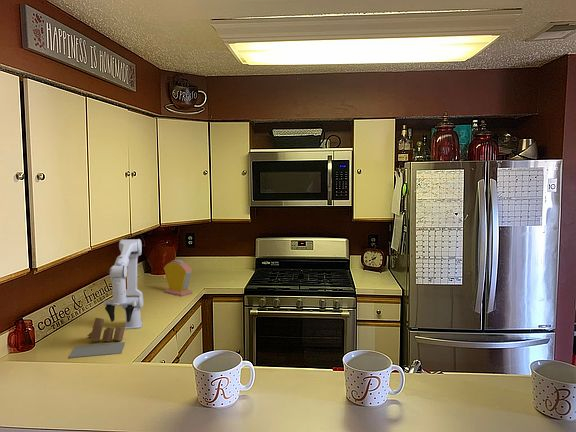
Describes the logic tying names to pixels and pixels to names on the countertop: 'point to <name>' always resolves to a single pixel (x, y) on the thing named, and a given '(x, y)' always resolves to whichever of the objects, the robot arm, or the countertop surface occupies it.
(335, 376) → the countertop surface
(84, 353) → the mat
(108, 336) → the wooden block set
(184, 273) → the yellow arched block
